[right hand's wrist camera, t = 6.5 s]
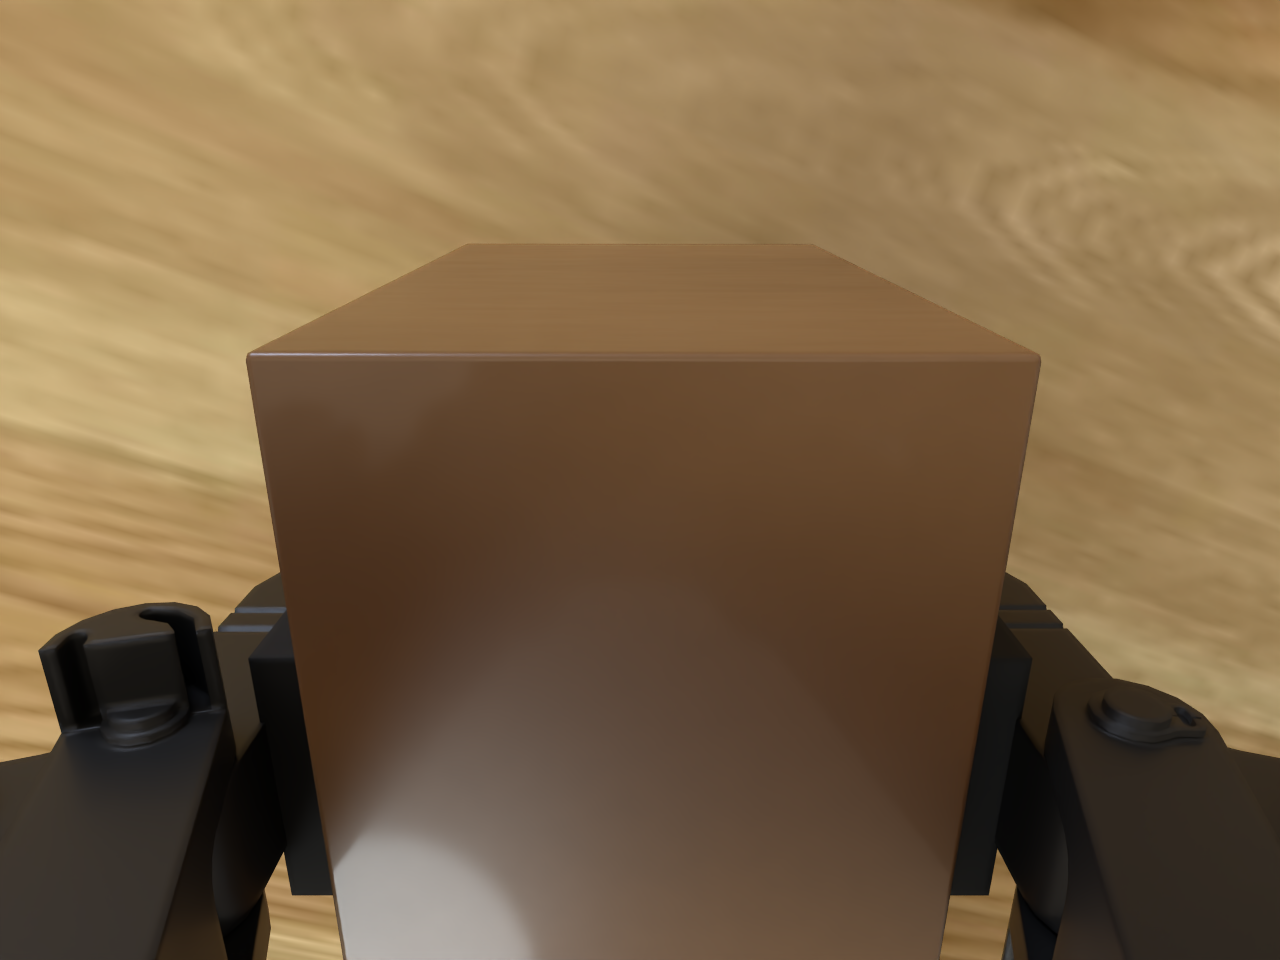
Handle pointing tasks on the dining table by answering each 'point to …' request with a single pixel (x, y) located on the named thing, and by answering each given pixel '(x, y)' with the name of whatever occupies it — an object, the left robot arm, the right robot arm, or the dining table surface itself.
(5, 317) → the dining table surface
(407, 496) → the beam
